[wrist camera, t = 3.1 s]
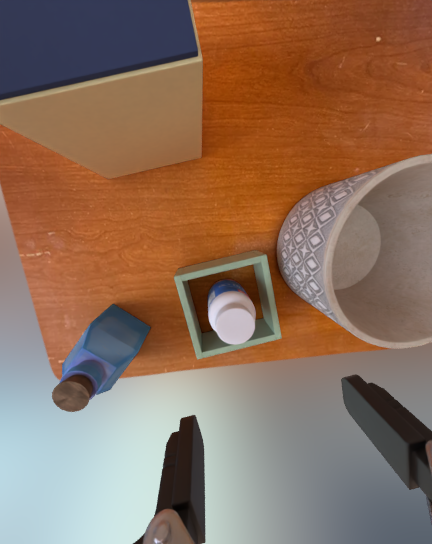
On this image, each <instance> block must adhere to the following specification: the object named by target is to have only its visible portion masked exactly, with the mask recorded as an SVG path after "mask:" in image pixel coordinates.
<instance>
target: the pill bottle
mask: <svg viewBox="0 0 432 544" xmlns="http://www.w3.org/2000/svg"><path fill="white" fill-rule="evenodd" d="M208 316H209V322H210V325H211V326H212V328H213V329H214V330H215V331H216V332H217V334H218V336H219V337H220V339H221V340H222V341H224V342H226V343H228V344H233V345H237V344H241V343H244V342H246V341H247V340H248V339H249V338H250V337H251V336H252V335H253V333H254V330H255V318H256V311H255V307H254V305H253V303H252V301H251V300H250V298H249V296H248V295H247V293H246V292H245V290H244V289H243V287H242V286H241V285H240V284H239V283H238V282H236V281H234V280H231V279H223V280H220V281H218V282H216V283H215V284H214V285H213V286H212V287H211V288H210V290H209V293H208Z"/></svg>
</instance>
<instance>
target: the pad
mask: <svg viewBox="0 0 432 544" xmlns="http://www.w3.org/2000/svg"><path fill="white" fill-rule="evenodd" d="M197 56H198V47H197V42H196V37H195V32H194V28H193V23H192V18H191V13H190V8H189V3H188V0H0V100H3V99H8V98H12V97H17V96H21V95H26V94H30V93H35V92H39V91H44V90H48V89H53V88H57V87H62V86H66V85H71V84H75V83H80V82H84V81H89V80H93V79H98V78H102V77H107V76H111V75H116V74H120V73H125V72H129V71H134V70H138V69H143V68H147V67H152V66H156V65H161V64H165V63H170V62H174V61H179V60H183V59H188V58H192V57H197Z"/></svg>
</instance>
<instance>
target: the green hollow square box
mask: <svg viewBox="0 0 432 544" xmlns="http://www.w3.org/2000/svg"><path fill="white" fill-rule="evenodd" d="M248 265H253V266H254V271H255V276H256V281H257V286H258V291H259V297H260V302H261V307H262V312H263V317H264V318H262V319H258V320H255V330H254V333H253V335H252V336H251V337H250V338H249V339H248V340H247V341H246V342H244V343H241V344H237V345H233V344H228V343H226V342H224V341H222V340H221V339H220V337H219V336H218V334H217V332H216V331H215V330H213V331H209V332H205V333H201V329H200V325H199V321H198V318H197V314H196V310H195V307H194V303H193V299H192V296H191V292H190V288H189V285H188V281H187V280H190V279H195V278H199V277H203V276H207V275H211V274H215V273H219V272H224V271H228V270H232V269H236V268H240V267H244V266H248ZM174 279H175V283H176V286H177V290H178V293H179V297H180V300H181V304H182V307H183V311H184V314H185V318H186V322H187V325H188V329H189V332H190V336H191V339H192V343H193V346H194V350H195V353H196V357H197V359H201V358H205V357H209V356H213V355H217V354H221V353H225V352H229V351H233V350H237V349H241V348H245V347H249V346H253V345H257V344H261V343H265V342H269V341H273V340H277V339H281V338H282V337H281V331H280V326H279V320H278V315H277V309H276V303H275V298H274V292H273V287H272V281H271V276H270V270H269V264H268V259H267V255H266V254H264V253H262V252H259V251H257V250H253V251H249V252H245V253H241V254H237V255H233V256H228V257H224V258H220V259H216V260H212V261H208V262H204V263H199V264H195V265H191V266H187V267H183V268H179V269H178V270H177V272H176V274H175V276H174Z"/></svg>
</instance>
